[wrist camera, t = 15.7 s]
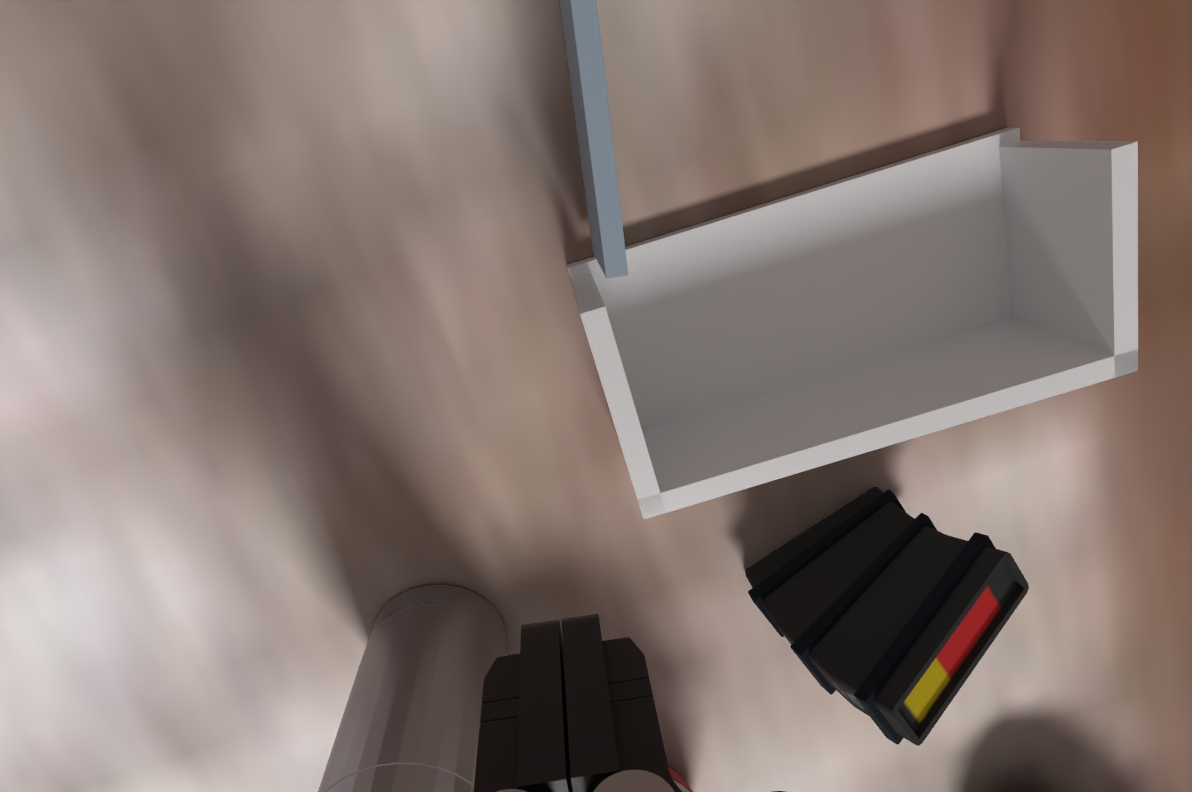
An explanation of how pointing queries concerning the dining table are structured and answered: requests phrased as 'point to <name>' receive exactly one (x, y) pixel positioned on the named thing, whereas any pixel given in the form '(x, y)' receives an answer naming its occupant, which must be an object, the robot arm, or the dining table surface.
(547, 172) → the dining table surface
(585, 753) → the robot arm
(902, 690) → the black ridged battery pack
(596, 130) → the door
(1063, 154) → the case
